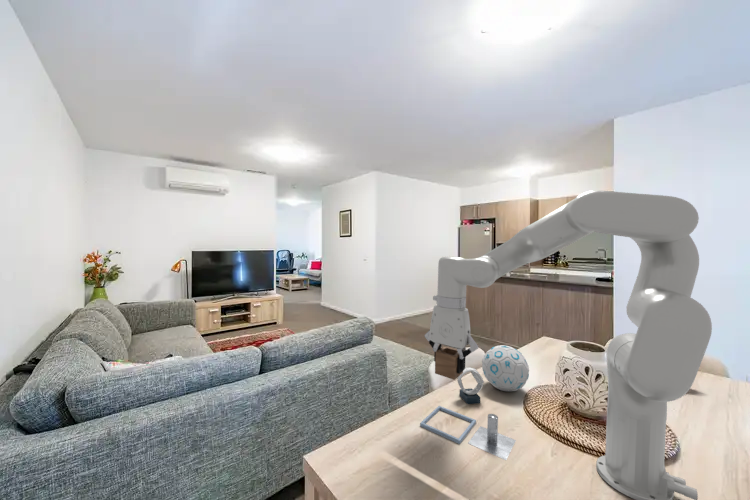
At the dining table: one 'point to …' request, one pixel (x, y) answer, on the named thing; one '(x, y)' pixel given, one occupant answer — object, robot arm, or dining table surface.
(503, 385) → the puzzle ball
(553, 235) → the robot arm
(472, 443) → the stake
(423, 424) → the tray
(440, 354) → the collar
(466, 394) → the watch
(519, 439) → the dining table surface
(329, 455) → the dining table surface
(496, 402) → the dining table surface
